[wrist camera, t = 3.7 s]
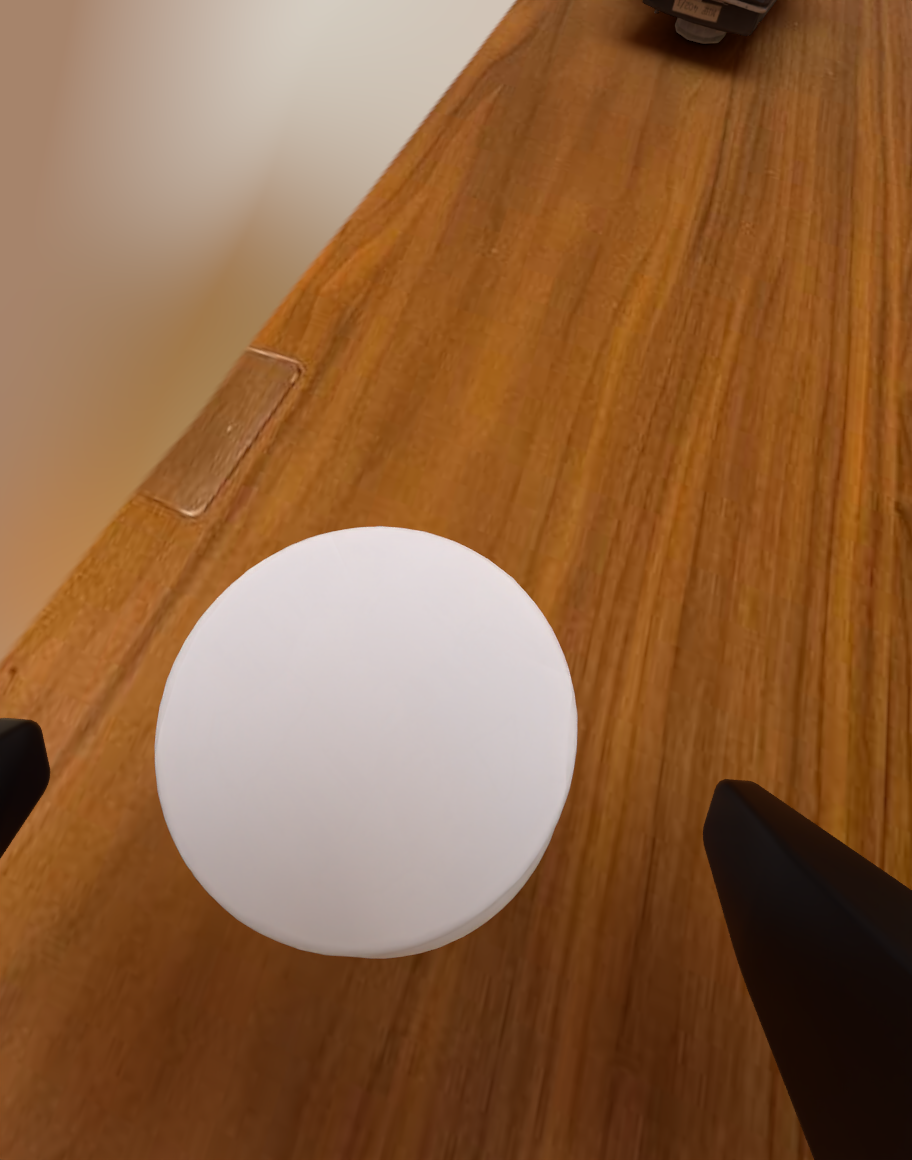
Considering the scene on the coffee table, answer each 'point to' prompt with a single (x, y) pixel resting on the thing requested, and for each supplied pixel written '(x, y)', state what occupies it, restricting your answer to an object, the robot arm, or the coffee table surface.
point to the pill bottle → (367, 743)
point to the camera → (713, 17)
